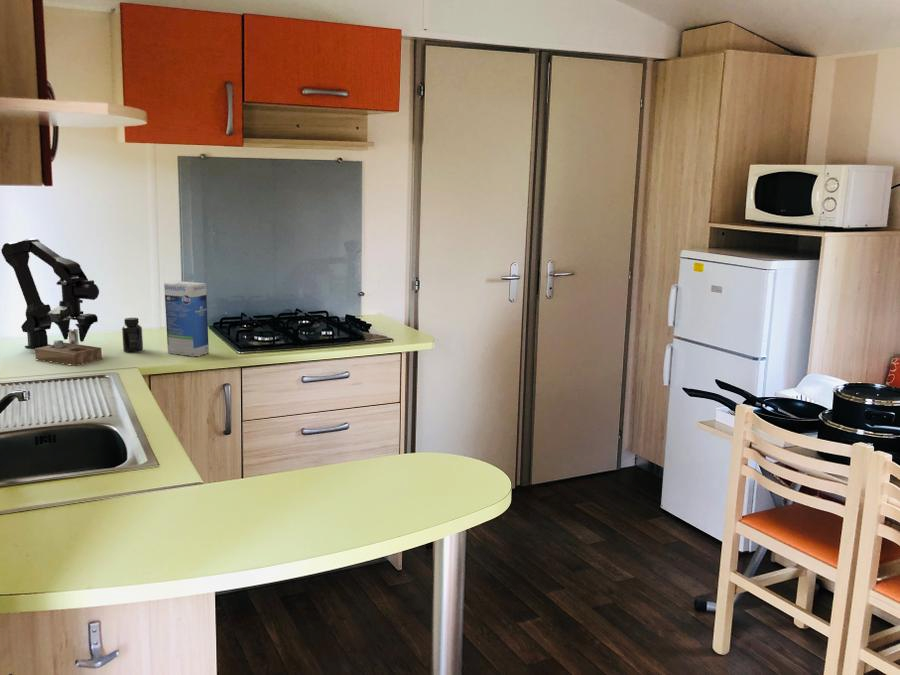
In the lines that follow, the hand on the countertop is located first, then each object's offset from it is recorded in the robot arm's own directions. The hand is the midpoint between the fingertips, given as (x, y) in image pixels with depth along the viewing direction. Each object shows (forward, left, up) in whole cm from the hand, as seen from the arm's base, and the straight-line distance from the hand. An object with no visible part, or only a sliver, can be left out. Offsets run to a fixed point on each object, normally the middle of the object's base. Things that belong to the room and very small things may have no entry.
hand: (73, 340), depth 311 cm
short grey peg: (+4, -10, -4) cm, 11 cm away
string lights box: (+37, +17, -4) cm, 41 cm away
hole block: (+8, -10, -4) cm, 13 cm away
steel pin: (0, 0, -4) cm, 4 cm away
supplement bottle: (+17, +11, -4) cm, 21 cm away
